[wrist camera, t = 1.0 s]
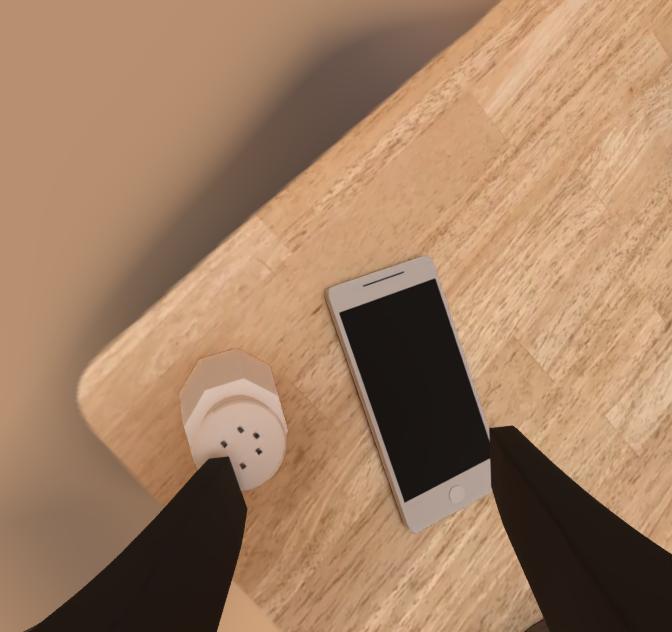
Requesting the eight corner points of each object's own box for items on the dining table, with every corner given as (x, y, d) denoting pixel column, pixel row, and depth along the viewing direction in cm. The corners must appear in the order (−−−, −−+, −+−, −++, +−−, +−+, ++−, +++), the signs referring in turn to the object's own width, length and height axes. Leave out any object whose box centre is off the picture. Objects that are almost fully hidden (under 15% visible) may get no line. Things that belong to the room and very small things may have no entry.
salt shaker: (239, 328, 23) (257, 321, 13) (298, 401, 24) (361, 452, 14) (156, 391, 22) (101, 442, 12) (221, 467, 23) (225, 580, 12)
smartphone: (405, 530, 25) (412, 537, 25) (322, 290, 25) (326, 288, 24) (498, 479, 27) (508, 484, 26) (424, 255, 27) (431, 252, 26)
